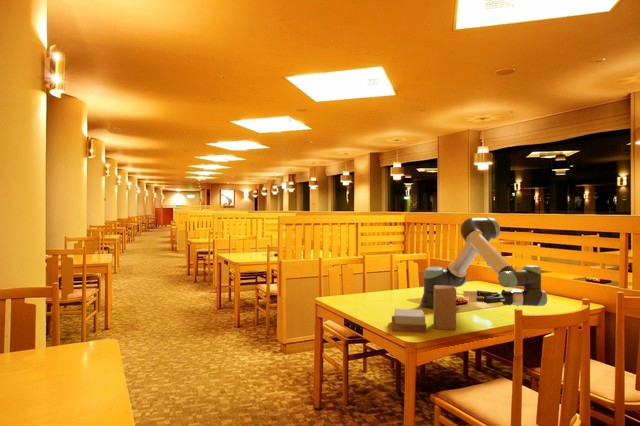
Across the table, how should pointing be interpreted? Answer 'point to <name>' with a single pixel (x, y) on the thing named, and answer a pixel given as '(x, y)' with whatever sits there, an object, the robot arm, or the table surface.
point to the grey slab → (409, 317)
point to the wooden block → (444, 307)
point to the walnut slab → (408, 327)
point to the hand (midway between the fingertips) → (466, 296)
